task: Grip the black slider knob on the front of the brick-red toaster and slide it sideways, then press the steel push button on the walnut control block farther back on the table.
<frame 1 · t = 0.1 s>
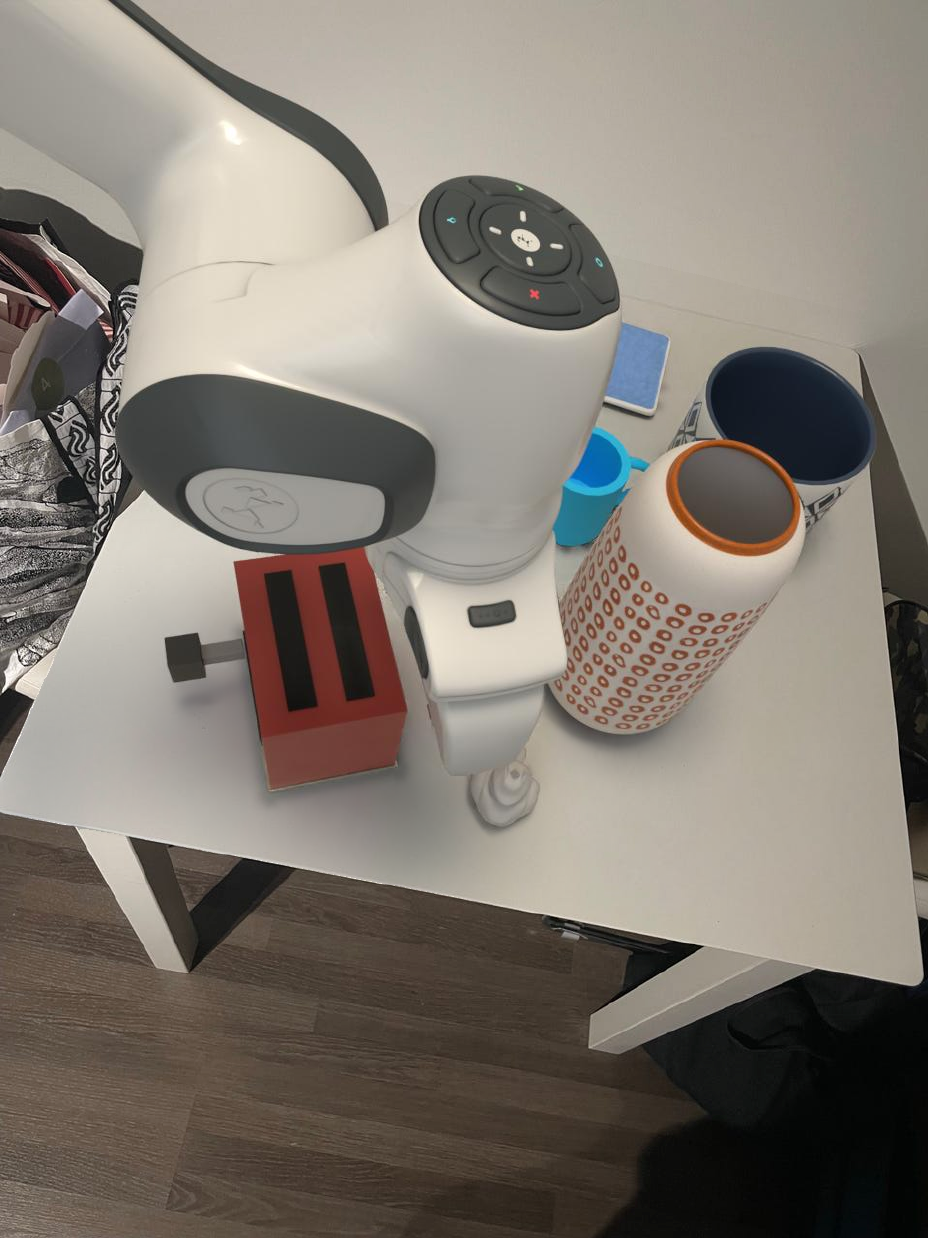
hand: (425, 646, 54), 20 cm above the table, tool pointing down, fingers open, 8 cm apart
planter: (723, 508, 89), on the table
tablet: (577, 356, 96), on the table
button: (295, 350, 85), point 4 cm above the table, slide at 0.1 cm
control block: (296, 379, 88), on the table
rubber duck: (500, 793, 71), on the table
vase: (603, 680, 77), on the table
mug: (582, 510, 86), on the table
toaster slider: (206, 654, 65), point 7 cm above the table, slide at 0.0 cm
toaster: (318, 698, 72), on the table
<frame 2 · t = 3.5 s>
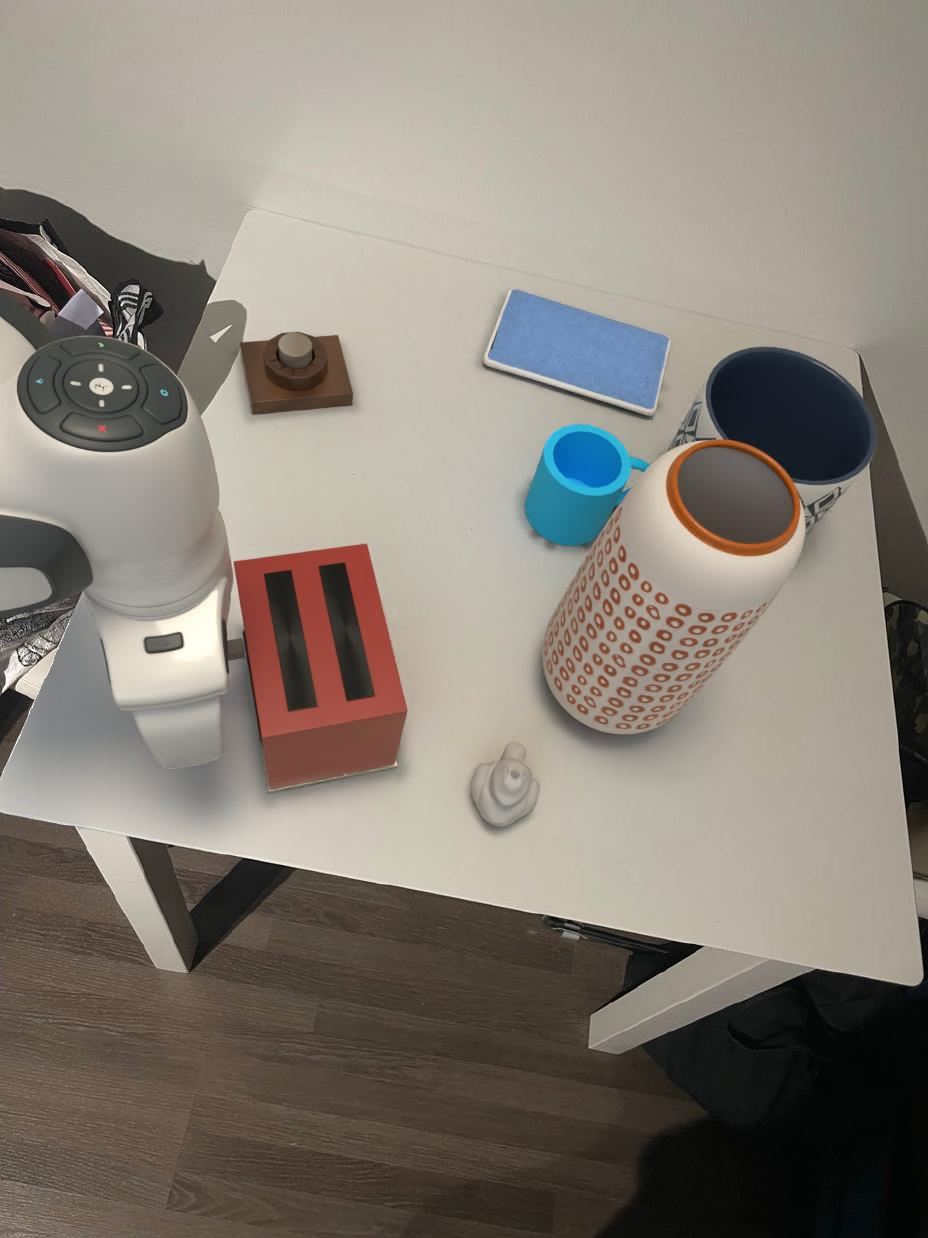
hand: (186, 663, 65), 7 cm above the table, tool pointing down, fingers closed on toaster slider, 2 cm apart
toaster slider: (206, 654, 65), point 7 cm above the table, slide at 0.0 cm, touching gripper
everything else where it was.
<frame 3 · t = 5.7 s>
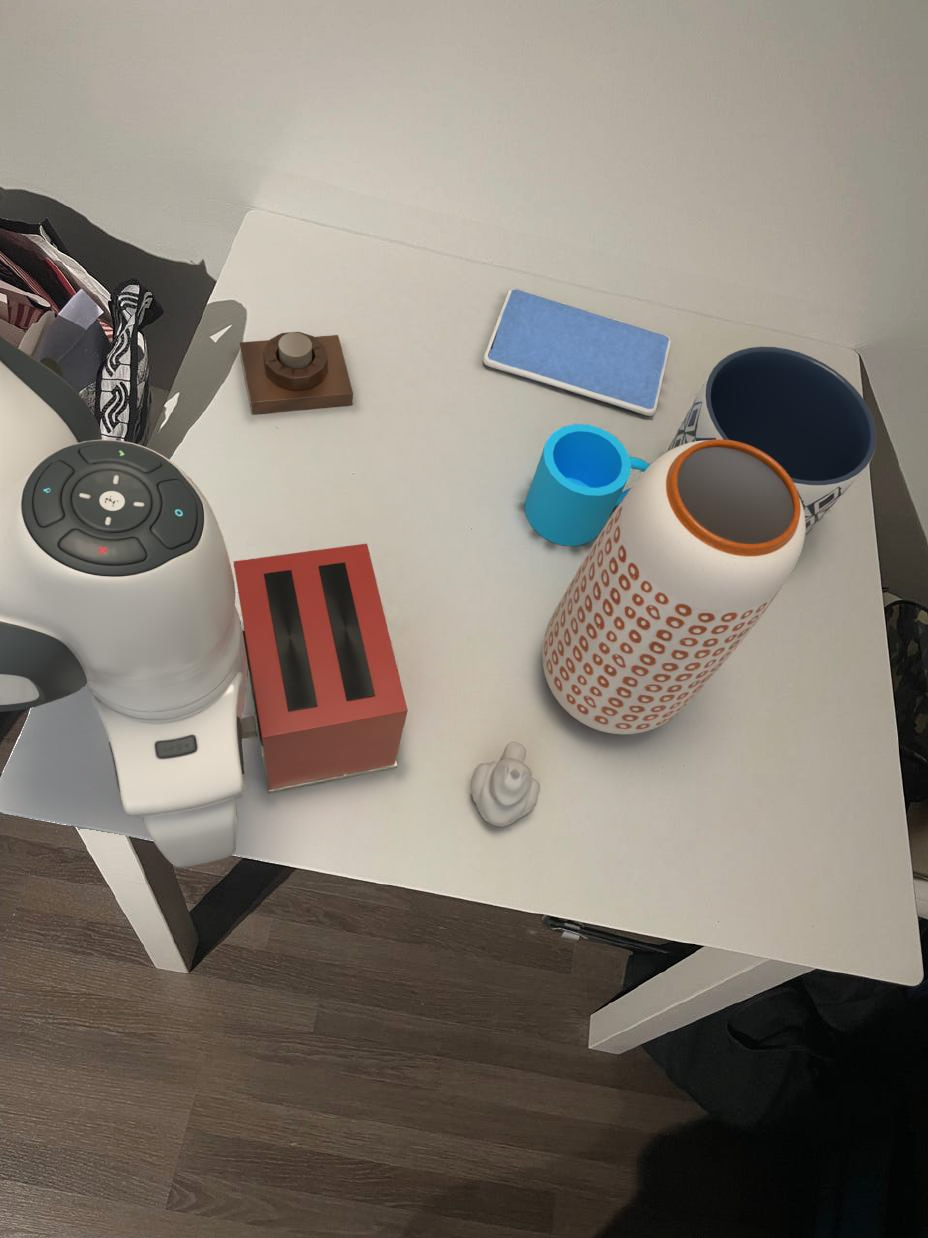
hand: (196, 742, 62), 7 cm above the table, tool pointing down, fingers closed on toaster slider, 2 cm apart
toaster slider: (217, 733, 62), point 7 cm above the table, slide at 6.3 cm, touching gripper
everything else where it was.
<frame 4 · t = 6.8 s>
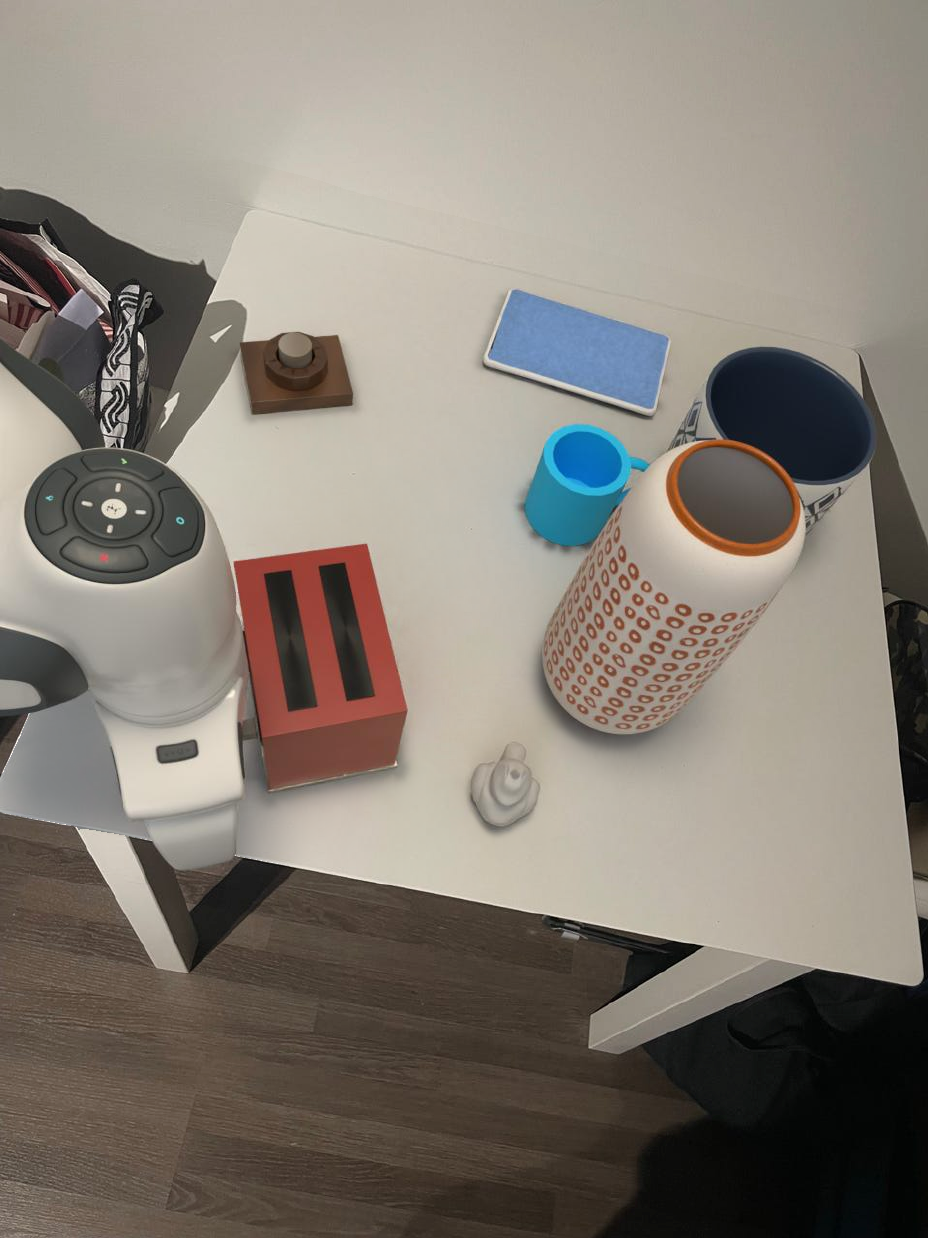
hand: (198, 745, 63), 6 cm above the table, tool pointing down, fingers open, 8 cm apart
toaster slider: (217, 735, 62), point 7 cm above the table, slide at 6.5 cm
everything else where it was.
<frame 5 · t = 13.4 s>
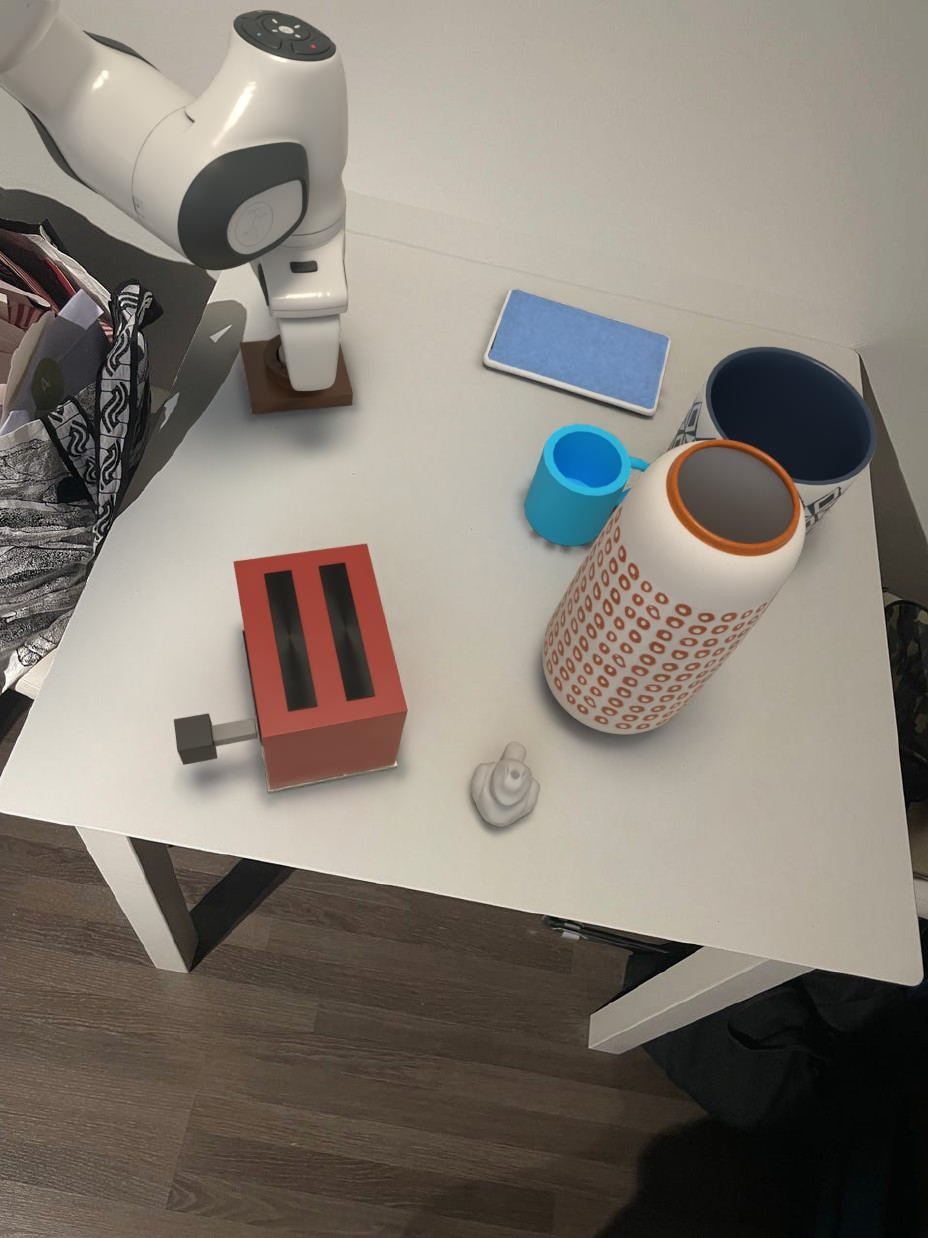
hand: (296, 350, 85), 4 cm above the table, tool pointing down, fingers closed, pressing on button
button: (295, 357, 85), point 3 cm above the table, slide at -0.8 cm, touching gripper
everything else where it was.
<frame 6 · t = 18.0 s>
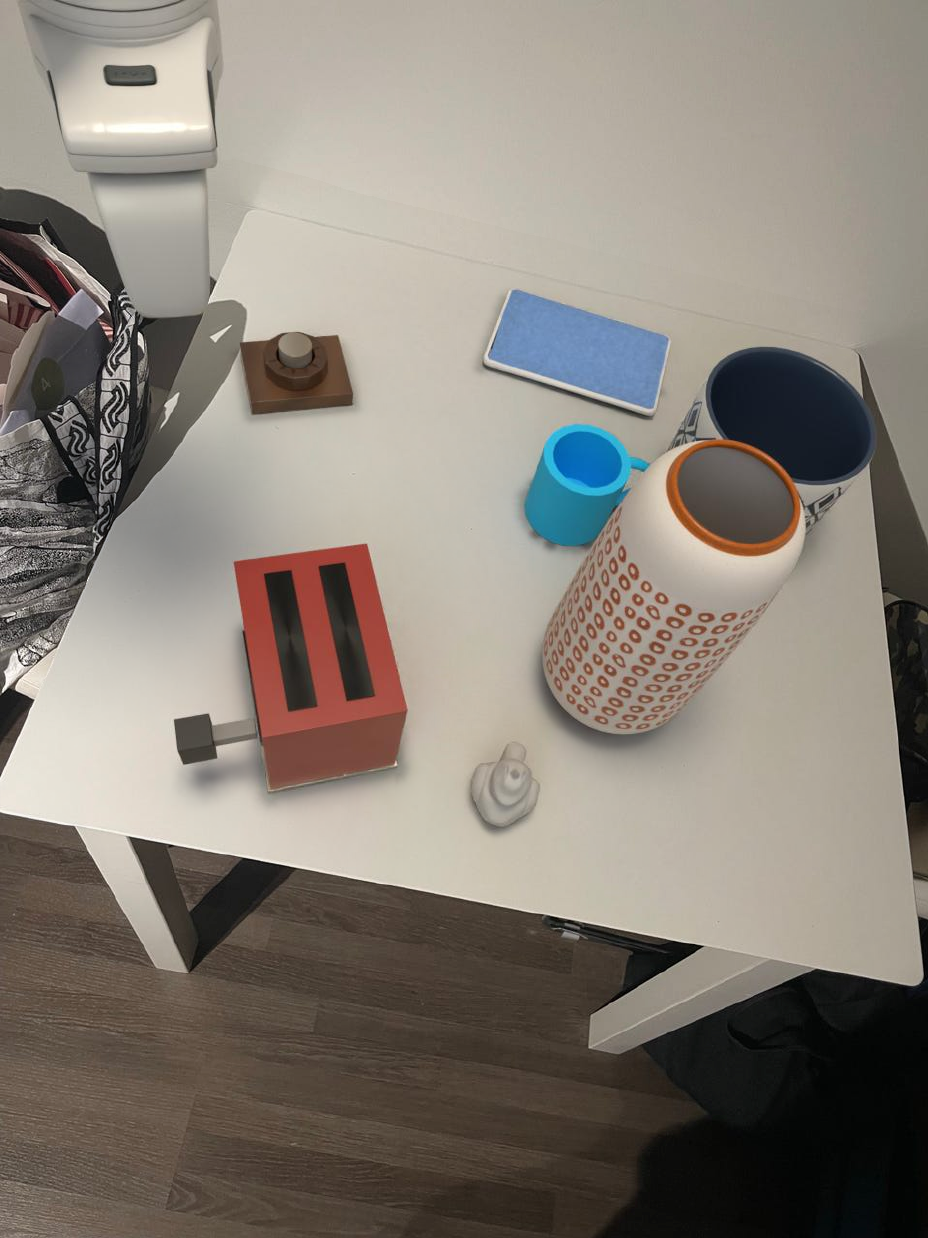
hand: (169, 265, 53), 29 cm above the table, tool pointing down, fingers closed
button: (295, 350, 85), point 4 cm above the table, slide at 0.1 cm
everything else where it was.
at the end: toaster slider slide at 6.5 cm; button pushed in 1.0 cm at the most during the clip, back to where it started at the end; button slide at 0.1 cm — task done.
